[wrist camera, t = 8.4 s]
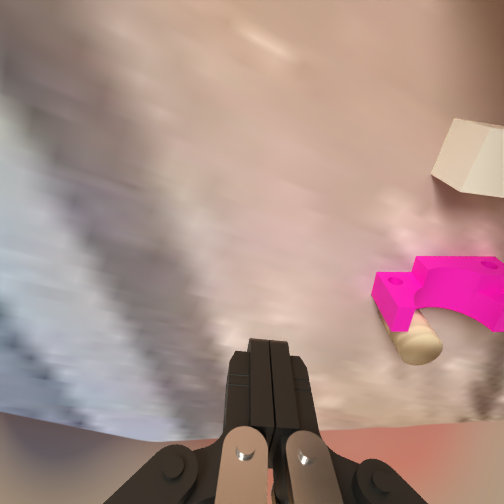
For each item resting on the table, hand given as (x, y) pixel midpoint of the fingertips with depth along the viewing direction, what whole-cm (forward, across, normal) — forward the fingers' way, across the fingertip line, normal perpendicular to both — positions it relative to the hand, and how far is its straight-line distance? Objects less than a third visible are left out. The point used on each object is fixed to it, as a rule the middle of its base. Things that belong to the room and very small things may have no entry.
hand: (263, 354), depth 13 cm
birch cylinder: (+27, -23, +17) cm, 40 cm away
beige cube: (+27, -23, -5) cm, 36 cm away
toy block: (+27, -26, +11) cm, 39 cm away
